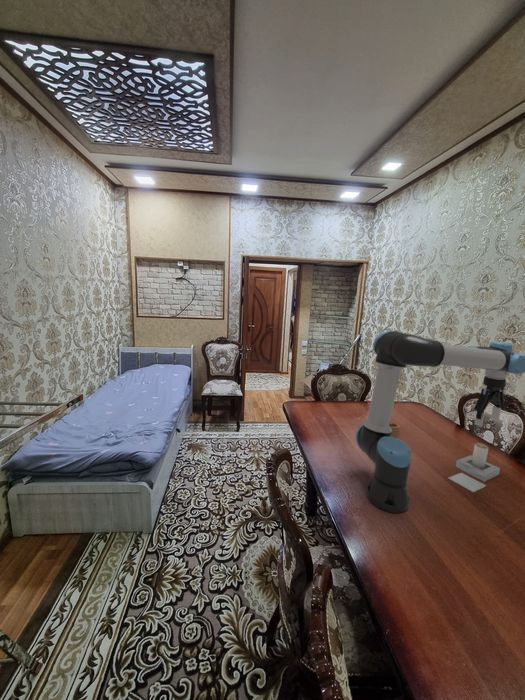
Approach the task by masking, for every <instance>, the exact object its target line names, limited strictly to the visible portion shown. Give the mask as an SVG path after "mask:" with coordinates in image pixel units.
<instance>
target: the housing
mask: <svg viewBox="0 0 525 700" xmlns="http://www.w3.org/2000/svg"><path fill="white" fill-rule="evenodd" d="M472 457H473V454H470V455H467V456H465V457H462V458H459V459H457V460H456V463H455V468H457V469H459V470H461V471H462V472H465V473H467V474H469V475H471V476H473V477H475V478H476V479H478V480H480V481H482V482H487V481H489V480H491V479H493V478H494V477H497V476H498V475H500V472H501V468H500V467H499V466H496V465H494V464H492V463H489V462H487V461H486V464H485V469H484V470H482V469H479V468H477V467H475V466H473V465H471V462H472Z"/></svg>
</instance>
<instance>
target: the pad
mask: <svg viewBox="0 0 525 700" xmlns="http://www.w3.org/2000/svg"><path fill="white" fill-rule="evenodd" d="M447 478H448V480H450V481H452V482H453V483H455V484H457V485H459V486H461V487H462V488H464V489H466V490H468V491H470V492H471V493H475V492H477V491H479V490H481V489H483V488H486V487H487V484H485V483H482V482H480V481H478V480H476V479H474V478H473V477H471V476H469V475H467V474H465V473H463V472H459V473H457V474H455V475H452V476H450V477H449V476H448V477H447Z"/></svg>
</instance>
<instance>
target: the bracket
mask: <svg viewBox="0 0 525 700" xmlns="http://www.w3.org/2000/svg"><path fill="white" fill-rule="evenodd" d="M389 426H390V428H391V429H392V433H391V437H394V438H397V439H398V438H399V435H400V430H401V425H400V424H398V423H397V422H394V421H392V422H390V423H389Z"/></svg>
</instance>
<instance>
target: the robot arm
mask: <svg viewBox="0 0 525 700" xmlns="http://www.w3.org/2000/svg"><path fill="white" fill-rule="evenodd" d="M372 347H373V351H374V353H375V355H376V357H375V360H374V361H375V363H376V365H377V367H378V368H377V371H376V375H375V381H374V387H373V391H372V396H371V402H370V406H369V411H368V414H367V415H368V416H367V419H366V420H364V421H363V422H362V425H360V427H358V428H357V430H356V432H355V442H356V443H357V446H358V448H359V449H360V450H361V451H362V452H363V453H364V454H365V455H366V456H367V457H368V459H370V461H371V462H373V463H374V472H373V477H372V478H371V480H370V482H369V483H368V485H367V488H366V496H367V498H368V500H369V502H370V503H372V505H374V506H375V507H377V508H379V509H381V510H382V511H386V512H388V513H394V514H399V513H404V512H406V511H408V509H409V507H410V498H409V493H408V489H407V484H408V483H407V482H408V479H409V477H408V476H409V473H410V465H411V462H412V461H411V460H412V459H411V458H412V457H411V456H412V451H411V449H410V447H409V446H408V444H406V443H405V442H404V441H402V440H401V439H398V438H394V437H391V433H392V429H391V428H390V426H389V423H391V418H392V413H393V408H394V404H395V399H396V394H397V389H398V385H399V381H400V375H401V371H403V370H404V369H405V368H406V367H407V366H413V367H431V368H437V367H439V366H449V367H457V368H459V367H461V368H470V369H471V368H472V369H481V370H484V376H483V385H484V386H486V388H481V391H480V394H479V396H478V398H477V402H475V403H476V404H475V406H474V408H473V410H474V411H476V414H475V418H474V419H475V421H474V425H475V426H476V427H477V426H478V427H480V428H482V427H483V425H484V420H485V414H486V412H485V410H486V409H487V407H488V406H489V404H490V402H491V401H492V402H493V405H494V406H492V409H491V416H490V420H491V421H492V422H496V423H498V422H499V420H500V414H501V409H504V408H505V395H504V392H505V391H504V390H505V388H506V384H507V378H508V375H509V374H516V375H522V374H524V373H525V354H521V353H519V352H513V348H514V347H513V344H511V343H510V342H504V341H492V342H490V344H489V346H477V345H474V346H461V345H459V346H458V345H452V344H443V343H442V342H441V341H439V340H433V339H432V340H431V339H428V338H424V337H421V336H417V335H414V334H410V333H404V332H400V331H396V330H385V331H383V332H381V333H380V334H378V335H377V336H376V337H375V339H374V341H373V346H372Z"/></svg>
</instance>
